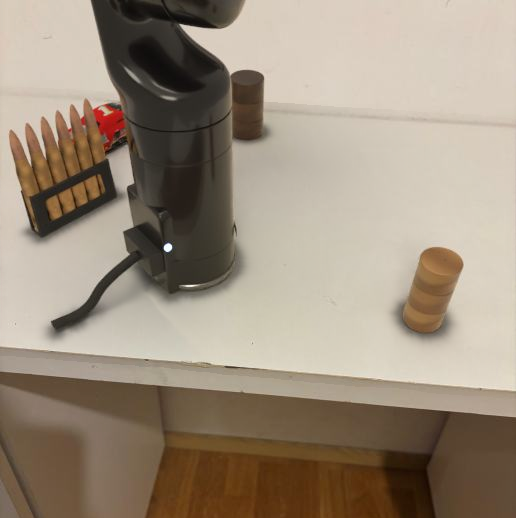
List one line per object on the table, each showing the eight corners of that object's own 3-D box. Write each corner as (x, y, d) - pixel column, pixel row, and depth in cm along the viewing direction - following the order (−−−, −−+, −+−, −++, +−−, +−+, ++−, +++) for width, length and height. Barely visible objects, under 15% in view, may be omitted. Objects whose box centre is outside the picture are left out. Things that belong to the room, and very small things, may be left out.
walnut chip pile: (243, 143, 77) (243, 88, 71) (224, 130, 79) (223, 75, 73) (269, 133, 79) (271, 79, 73) (249, 120, 81) (250, 66, 75)
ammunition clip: (108, 190, 69) (87, 92, 60) (117, 196, 69) (98, 98, 59) (31, 230, 64) (-4, 130, 55) (41, 237, 63) (7, 137, 54)
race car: (78, 171, 72) (70, 141, 69) (51, 155, 74) (43, 126, 71) (155, 130, 79) (151, 101, 76) (128, 117, 81) (123, 88, 78)
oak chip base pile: (423, 339, 55) (444, 281, 49) (394, 315, 57) (411, 257, 51) (449, 321, 56) (472, 263, 50) (420, 299, 58) (439, 241, 52)
